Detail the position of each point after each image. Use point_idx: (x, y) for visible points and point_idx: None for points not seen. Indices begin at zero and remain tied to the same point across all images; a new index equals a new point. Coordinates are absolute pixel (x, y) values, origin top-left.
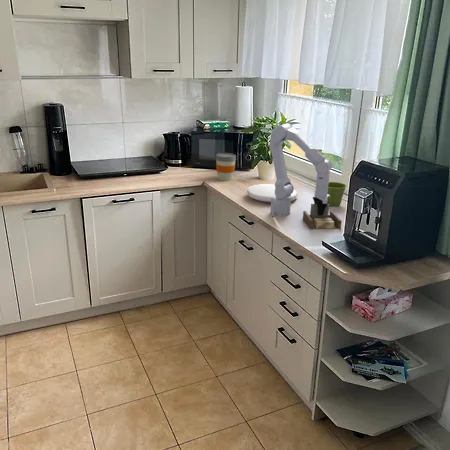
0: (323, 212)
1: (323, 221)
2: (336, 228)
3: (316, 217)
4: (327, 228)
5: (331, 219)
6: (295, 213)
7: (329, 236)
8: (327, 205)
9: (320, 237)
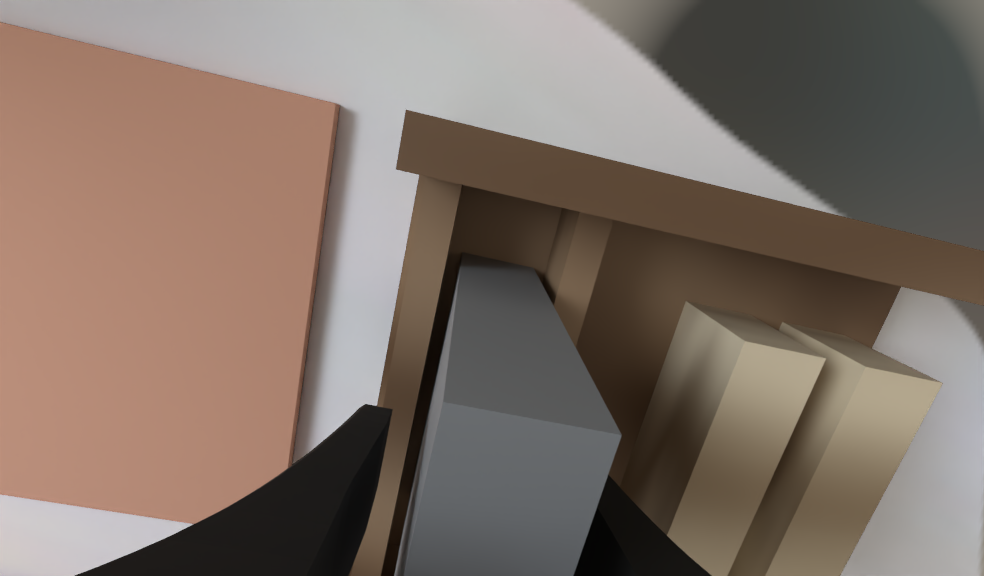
0: (610, 483)
1: (823, 538)
2: (871, 295)
3: None
4: None
5: (806, 362)
6: (39, 512)
7: (955, 466)
8: (598, 475)
9: (923, 567)
